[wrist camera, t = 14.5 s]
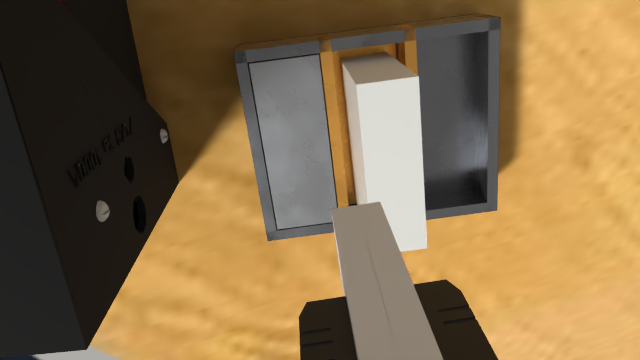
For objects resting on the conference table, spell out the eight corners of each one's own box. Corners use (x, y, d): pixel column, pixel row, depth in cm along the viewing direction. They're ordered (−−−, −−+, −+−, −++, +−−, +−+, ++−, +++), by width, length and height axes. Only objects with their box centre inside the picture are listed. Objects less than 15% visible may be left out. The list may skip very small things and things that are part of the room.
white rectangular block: (354, 193, 41) (372, 255, 32) (339, 58, 37) (356, 84, 27) (396, 187, 41) (427, 248, 32) (386, 52, 37) (418, 76, 27)
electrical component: (-6, -41, 34) (-356, -65, 16) (143, -52, 34) (-29, -89, 16) (62, 193, 41) (-127, 370, 22) (187, 182, 41) (101, 348, 23)
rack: (239, 44, 37) (233, 52, 33) (479, 13, 37) (500, 17, 34) (269, 218, 43) (267, 241, 39) (479, 190, 43) (497, 210, 39)
